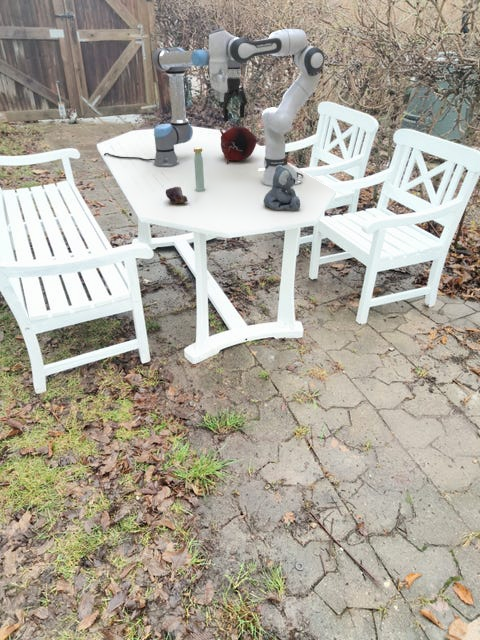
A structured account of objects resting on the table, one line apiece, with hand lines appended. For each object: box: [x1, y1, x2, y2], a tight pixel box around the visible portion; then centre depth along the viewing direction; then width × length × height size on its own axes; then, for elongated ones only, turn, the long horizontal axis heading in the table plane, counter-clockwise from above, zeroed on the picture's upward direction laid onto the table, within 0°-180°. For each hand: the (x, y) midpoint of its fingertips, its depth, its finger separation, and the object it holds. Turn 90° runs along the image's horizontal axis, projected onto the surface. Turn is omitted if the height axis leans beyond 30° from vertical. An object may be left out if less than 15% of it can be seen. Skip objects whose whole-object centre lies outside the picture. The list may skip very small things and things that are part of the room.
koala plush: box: [263, 165, 301, 211], centre depth 223 cm, size 17×18×20 cm
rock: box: [165, 186, 188, 204], centre depth 232 cm, size 12×9×10 cm
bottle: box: [193, 152, 205, 192], centre depth 244 cm, size 5×5×22 cm
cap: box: [193, 146, 203, 153], centre depth 238 cm, size 4×4×2 cm
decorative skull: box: [219, 125, 257, 164], centre depth 297 cm, size 21×24×25 cm
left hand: (234, 119), depth 258 cm, fingers open, 13 cm apart
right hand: (219, 100), depth 226 cm, fingers open, 8 cm apart
